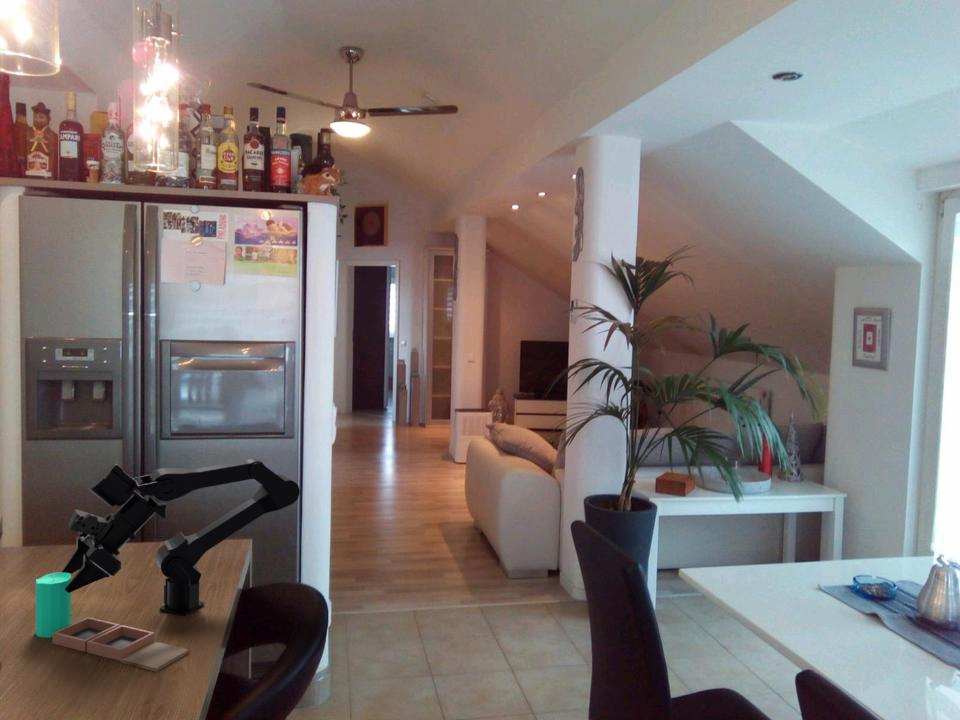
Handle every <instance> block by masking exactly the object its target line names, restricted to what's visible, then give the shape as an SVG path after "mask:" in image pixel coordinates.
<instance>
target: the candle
mask: <svg viewBox="0 0 960 720" xmlns="http://www.w3.org/2000/svg"><path fill="white" fill-rule="evenodd" d="M52 571H53V572H51V573H47V574H45V575H43V576H42V577H40V578H37V579H35V634H36V636H37V637H40V638H52V633H54V632H56V631H58V630H60V629H63V628H65V627H67V626H69V625H72V592H70V593H68V592H67V591H65V588H66V587H67V585H68V584H69V582H70V581H71V580H72V574H70V573H61V572H60V571H59V572H57V571H56V572H55V570H54V569H53V570H52Z"/></svg>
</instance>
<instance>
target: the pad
mask: <svg viewBox="0 0 960 720" xmlns="http://www.w3.org/2000/svg"><path fill="white" fill-rule="evenodd" d="M189 652H190V649H187V648H184V647H180V646H177V645H176V646H175V645H171V644H167V643H163V642H158V641H154V642H153V643H151V644H149V645H147V646H145V647H143V648H141V649H139V650H138V651H136V652H134V653H132V654H130V655H128V656H126V657H124V658H123V659H121V661H120V663H121V664H124V665H128V666H133V667H136V668H139V669H143V670H148V671H151V672H156V673H157V672H159V671H160V670H162V669H163V668H165V667H166V666H169V665H170V664H172V663H174V662H175V661H177V660H179V659H180V658H182V657H184V656H186V655H188V654H190V653H189Z"/></svg>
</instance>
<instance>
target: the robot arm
mask: <svg viewBox="0 0 960 720" xmlns="http://www.w3.org/2000/svg"><path fill="white" fill-rule="evenodd" d="M249 480H255V481H256V482H257V483H259V484H260V488H259V489H258V490H257V491H256V492H255V494H254V495H253V496H252V497H251V498H250V499H248V500H246V501H245V502H243V503H241V504H240V505H238V506H237V507H235V508H233V509H232V510H230V511H229V512H227V513H225V514H224V515H223V516H220V517H219V518H217V519H216V520H215V521H213V522H211V523H210V524H208V525H206V526H205V527H203V528H202V529H200V530H199V531H197V532H195V533H193V534H190V535H184V533H183V532H182V531H178V533H176V534H175V535H173V536H172V537H171V538H170V539H167V540H164V541H162V546H160V547H159V548H158V549H157V551H156V554H155V562H156V563H155V564H156V565H157V566H158V569H159V570H160V572H161V573H162V575H164V576H165V577H166V578H165V583H164V586H163V605H162V606H159V611H162V612H166V613H171V614H175V615H179V616H185V615H187V614H188V613H191V612H192V611H195V610H197V609H198V608H201V607H202V606H204V605H205V602H204V601H200V579H201V578H202V573H201V572H200V570H199V569H198V568H197V564H198V563H199V562H200V561H201V559H202V557H203V556H204V555H205V554H206V553H207V552H208V551H209V550H211V549H213V548H214V547H215V546H218V545H219V544H221V543H222V542H223V541H225V540H227V539H228V538H230V537H231V536H233V535H234V534H236V533H237V532H239V531H241V530H242V529H244V528H245V527H247V526H248V525H250V524H251V523H253V522H254V521H256V520H258V519H259V518H261V517H262V516H263V515H266V514H270V513H273V512H274V513H275V512H278V511H281V510H283V509H285V508H287V507H290V506H292V505H294V504H295V503H296V502H297V501H298V500H299V497H300V491H301V490H300V486H299V485H298V483H297V482H296V481H294V480H293V479H291V478H289V477H287V476H286V475H285V474H284V475H283V474H276V473H275V472H274V471H272V470H271V469H270V468H269V467H267V466H266V465H265V464H264V462H262V461H260V460H259V459H258V458H254V457H253V458H251V457H250V458H249V459H245V460H240V461H233V462H227V463H221V464H216V465H211V466H204V467H198V468H180V467H161V468H157V469H155V470H153V471H152V473H150V474H146V475H142V476H137V477H131V476H130V475H129V474H128V473H127V472H126V471H124V470H123V468H122V467H121V466H120V465H119V464H117V463H114V464H112V466H110V467H108V468H106V469H105V470H103V471H102V472H100V473H99V474H97V475H96V476H95V477H94V479H92V481H91V482H90V484H89V485H88V488H87V489H88V490H89V491H90V492H91V493H92V494H94V495H95V496H96V497H97V498H99V499H100V500H101V501H103V502H104V503H105V504H106V505H107V506H108V507H110V508H112V507H114V506H116V507H120V508H118V510H116V511H115V513H112V512H110V513H108V514H106V515H105V516H104V517H101V516H99V515H96V514H92V513H90V512H86V511H84V510H80V509H75V510H74V512H73V513H72V516H71V517H70V519H69V521H68V523H67V525H68V529H69V530H70V531H73V532H76V533H77V535H76V548H75V550H74V552H73V553H72V554H71V556H70V558H69V559H68V561H67V563H66V564H65V566H64V567H63V569H62V570H61V572H60V573H70V574H71V575H72V574H74V573H75V572H76V573H75V574H74V576H73V577H72V578H71V581H70V582H69V584H68V585H67V587H66V588H65V591H67V592H68V593H70V592H71V593H72V592H75V591H77V590H79V589H81V588H83V587H86V586H88V585H90V584H93V583H95V582H97V581H100V580H103V579H105V578H109V577H115V575H116V574H117V573H119V571H120V570H121V569H122V562H121V559H120V557H119V555H120V554H121V552H120V549H121V548H122V547H123V546H124V545H126V543H127V542H129V540H131V541H134V540H135V539H136V537H137V535H136V533H138V532H139V531H140V529H141V528H142V527H143V526H144V525H145V524H146V523H147V522H148V521H149V520H151V518H152V517H153V516H155V514H157V515H158V516H159V517H161V519H166V517H167V513H166V508H167V504H166V503H165V502H171V501H173V500H175V499H179V498H182V497H184V496H187V495H189V494H190V493H193V492H194V491H197V490H200V489H204V488H209V487H210V488H212V487H215V486H216V487H217V486H223V485H227V484H233V483H238V482H243V481H249ZM136 490H137V491H138V492H140V493H141V494H142V495H144V496H142V495H141V494H140V493H138V492H137V491H136ZM153 497H154V498H156V499H157V500H159V501H160V502H158V501H157V500H155V499H154V498H153Z"/></svg>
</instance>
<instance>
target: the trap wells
mask: <svg viewBox="0 0 960 720" xmlns="http://www.w3.org/2000/svg"><path fill="white" fill-rule="evenodd" d="M155 634H156V633H155V632H153V631H149V630H144V629H140V628H137V627H132V626H129V625H128V626H127V625H124V624H123V625H122V624H119V623H117V622H116V623H115V622H111V621H106V620H102V619H98V618H94V617H89V616H88V617H85V618H83V619H80V620H79V621H77V622H74V623H71V625H69V626H67V627H65V628H63V629H60V630H58V631H56V632H54V633H52V637H51V638H52V640H51V641H52V643H51V644H53V645H57V646H61V647H66V648H68V649H73V650H76V651H80V652H86V653H89V654H92V655H96V656H100V657H104V658H108V659H113V660H116V661H120V662H121V659H123V658H124V657H126V656H128V655H130V654H132V653H134V652H136V651H138V650H139V649H141V648H143V647H145V646H147V645H149V644H151V643H153V642H154V641H155V638H156V637H155ZM155 642H156V641H155Z"/></svg>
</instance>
